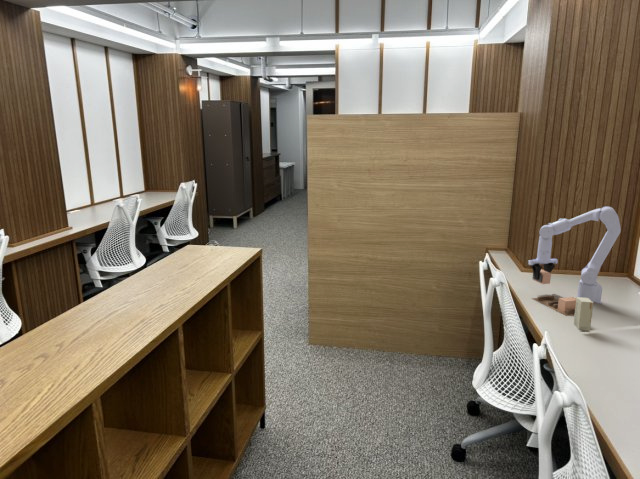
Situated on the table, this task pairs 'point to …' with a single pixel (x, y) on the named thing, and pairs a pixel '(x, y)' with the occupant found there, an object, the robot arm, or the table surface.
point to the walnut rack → (553, 303)
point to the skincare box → (583, 314)
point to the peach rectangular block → (543, 277)
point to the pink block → (566, 304)
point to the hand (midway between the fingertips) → (541, 278)
